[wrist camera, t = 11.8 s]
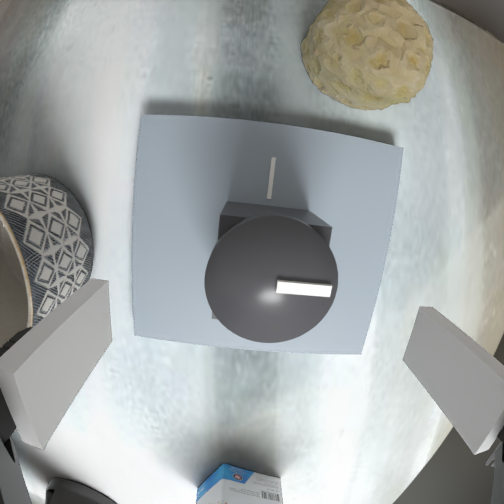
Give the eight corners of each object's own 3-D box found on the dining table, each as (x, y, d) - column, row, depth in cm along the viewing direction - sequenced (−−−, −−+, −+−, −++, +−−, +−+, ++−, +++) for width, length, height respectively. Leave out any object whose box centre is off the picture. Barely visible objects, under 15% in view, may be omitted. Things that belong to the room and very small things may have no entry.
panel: (139, 327, 27) (115, 367, 21) (147, 117, 22) (115, 102, 16) (356, 345, 28) (379, 387, 22) (395, 148, 23) (437, 146, 17)
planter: (27, 147, 22) (-54, 150, 12) (124, 224, 25) (57, 261, 15) (-13, 254, 25) (-78, 287, 15) (69, 328, 27) (14, 388, 17)
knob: (214, 284, 24) (200, 339, 16) (222, 195, 23) (209, 210, 15) (301, 292, 25) (325, 348, 17) (315, 205, 23) (350, 227, 15)
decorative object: (364, 125, 26) (464, 112, 18) (280, 108, 21) (406, 71, 12) (351, 39, 25) (439, 12, 16) (270, 5, 19) (369, -51, 11)
